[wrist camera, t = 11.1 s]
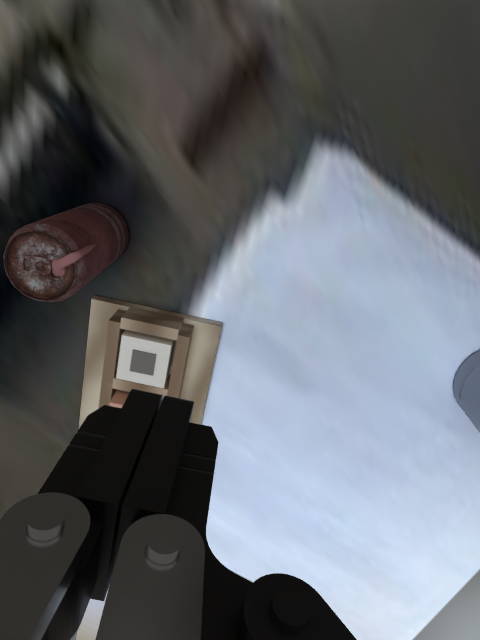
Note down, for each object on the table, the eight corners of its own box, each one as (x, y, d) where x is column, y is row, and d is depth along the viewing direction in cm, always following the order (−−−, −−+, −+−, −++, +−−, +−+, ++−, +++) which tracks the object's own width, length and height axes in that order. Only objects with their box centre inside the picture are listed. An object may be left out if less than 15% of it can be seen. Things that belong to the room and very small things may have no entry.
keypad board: (222, 321, 50) (219, 338, 46) (188, 481, 58) (182, 507, 54) (95, 294, 49) (80, 308, 45) (78, 458, 57) (64, 483, 53)
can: (143, 245, 47) (98, 284, 34) (92, 270, 48) (29, 318, 35) (112, 190, 45) (52, 209, 32) (59, 218, 46) (-19, 248, 33)
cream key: (175, 335, 48) (171, 346, 45) (168, 376, 50) (163, 389, 47) (128, 325, 48) (121, 335, 45) (122, 367, 49) (115, 379, 47)
